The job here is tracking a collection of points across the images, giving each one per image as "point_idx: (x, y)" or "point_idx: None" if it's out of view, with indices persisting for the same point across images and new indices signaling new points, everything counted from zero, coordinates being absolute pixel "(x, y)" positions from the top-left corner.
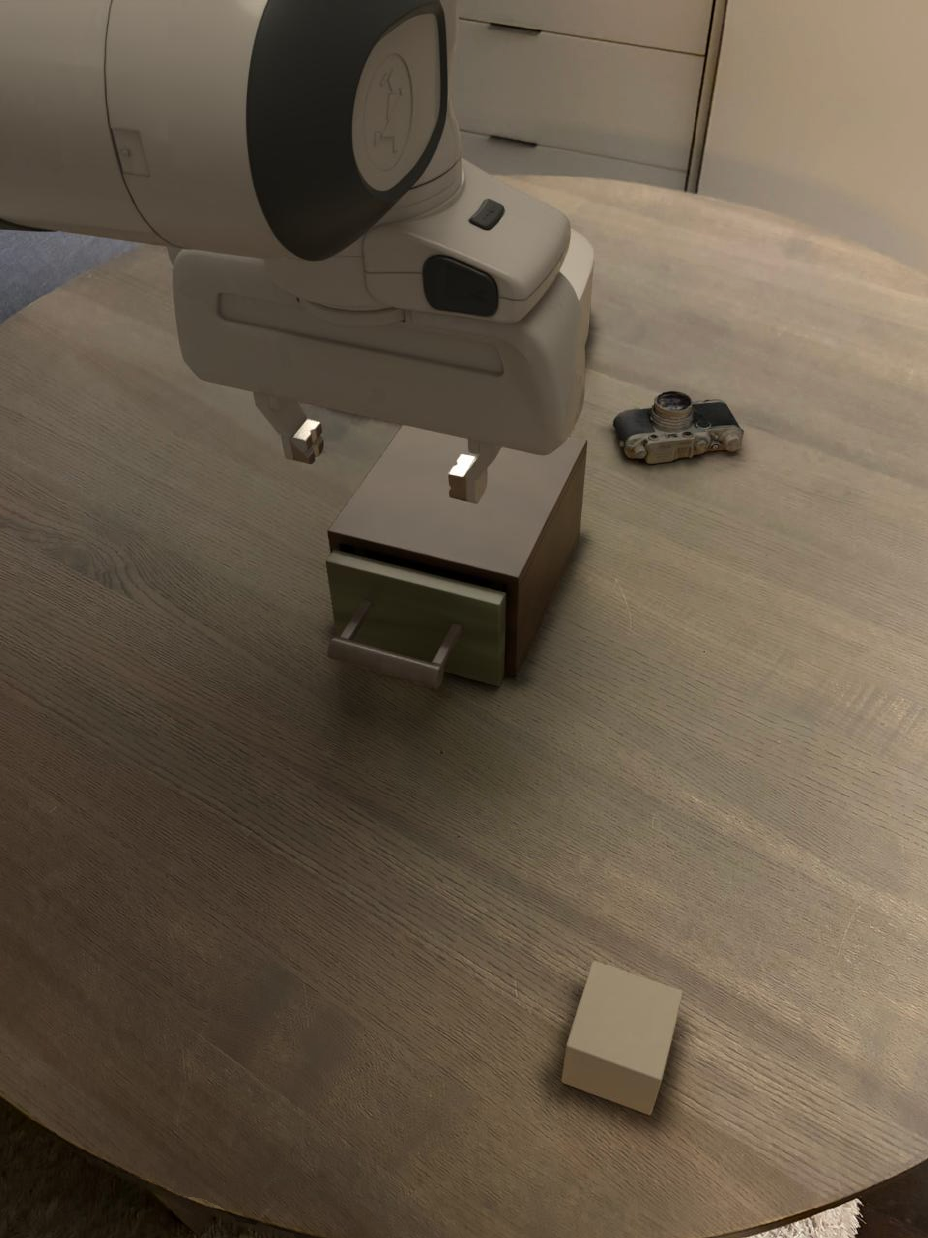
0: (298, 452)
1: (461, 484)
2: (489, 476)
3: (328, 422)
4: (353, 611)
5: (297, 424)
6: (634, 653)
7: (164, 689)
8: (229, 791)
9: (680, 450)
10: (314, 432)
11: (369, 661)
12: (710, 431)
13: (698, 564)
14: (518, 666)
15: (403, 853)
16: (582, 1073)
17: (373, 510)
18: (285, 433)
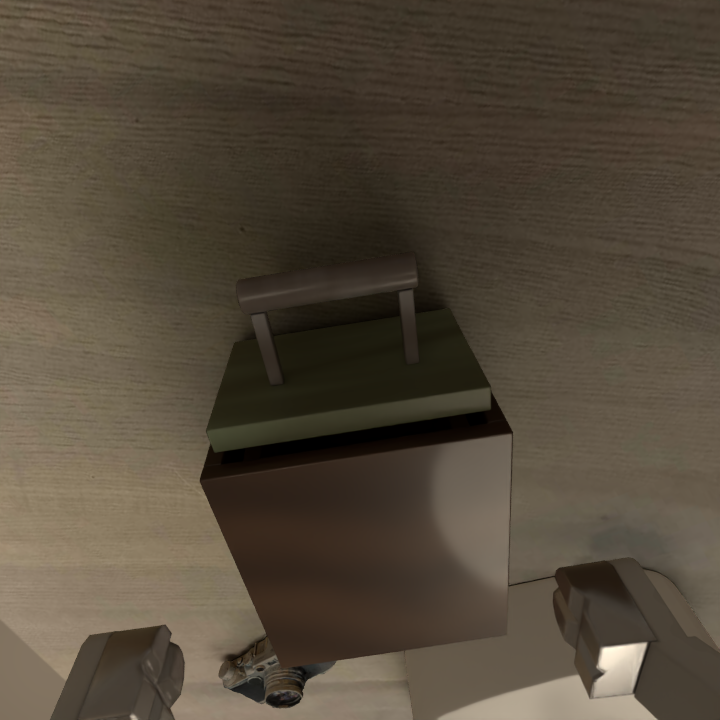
0: (606, 593)
1: (100, 689)
2: (353, 590)
3: (615, 548)
4: (432, 344)
5: (652, 681)
6: (149, 446)
7: (637, 132)
8: (460, 14)
9: (264, 648)
10: (590, 668)
11: (344, 270)
12: (245, 676)
13: (171, 555)
14: None
15: (178, 52)
16: None
17: (466, 489)
18: (675, 650)
